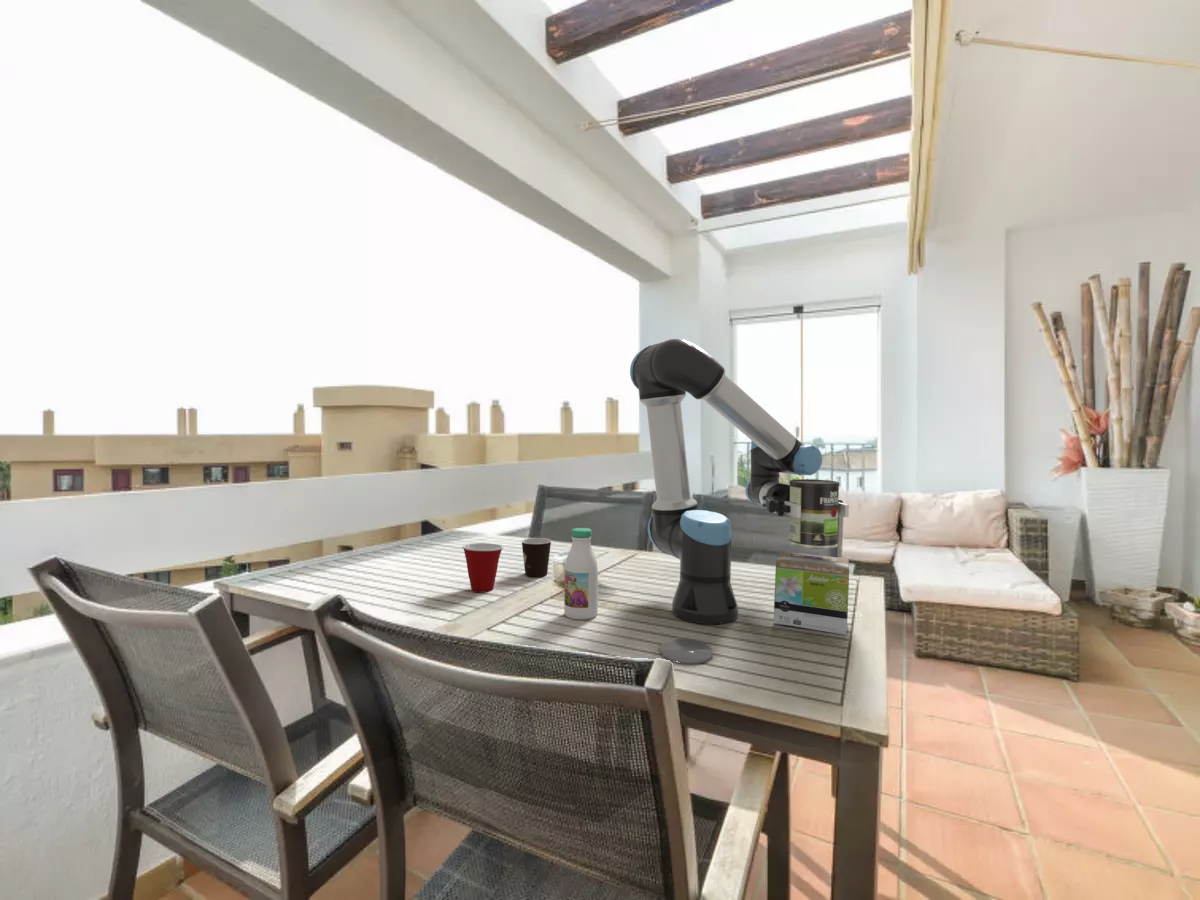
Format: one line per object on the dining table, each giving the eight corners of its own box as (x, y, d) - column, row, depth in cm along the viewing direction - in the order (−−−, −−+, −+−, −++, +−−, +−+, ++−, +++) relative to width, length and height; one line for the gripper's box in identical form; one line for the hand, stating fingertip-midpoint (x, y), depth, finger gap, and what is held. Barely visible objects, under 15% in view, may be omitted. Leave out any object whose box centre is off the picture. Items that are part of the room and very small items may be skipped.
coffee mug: (549, 578, 156) (549, 544, 156) (519, 578, 156) (519, 543, 156) (553, 568, 168) (553, 536, 167) (525, 568, 168) (525, 535, 167)
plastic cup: (512, 587, 147) (512, 543, 147) (483, 597, 138) (483, 551, 138) (482, 581, 153) (482, 538, 153) (453, 590, 144) (453, 545, 143)
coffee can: (848, 545, 120) (849, 481, 119) (819, 551, 114) (820, 484, 113) (807, 537, 128) (808, 478, 128) (778, 542, 123) (779, 480, 122)
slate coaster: (666, 665, 99) (666, 660, 99) (655, 643, 109) (655, 639, 109) (719, 663, 100) (719, 659, 100) (704, 642, 110) (704, 638, 110)
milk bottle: (581, 607, 131) (582, 525, 131) (604, 615, 126) (605, 529, 125) (557, 614, 126) (557, 528, 125) (579, 623, 121) (580, 533, 120)
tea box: (773, 625, 120) (774, 559, 120) (777, 611, 129) (779, 550, 129) (847, 636, 114) (849, 566, 114) (847, 621, 123) (848, 556, 123)
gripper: (821, 511, 140) (872, 527, 118) (736, 513, 138) (772, 529, 116) (822, 482, 140) (873, 493, 117) (736, 483, 137) (772, 494, 115)
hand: (823, 511), depth 117 cm, fingers closed on coffee can, 10 cm apart
